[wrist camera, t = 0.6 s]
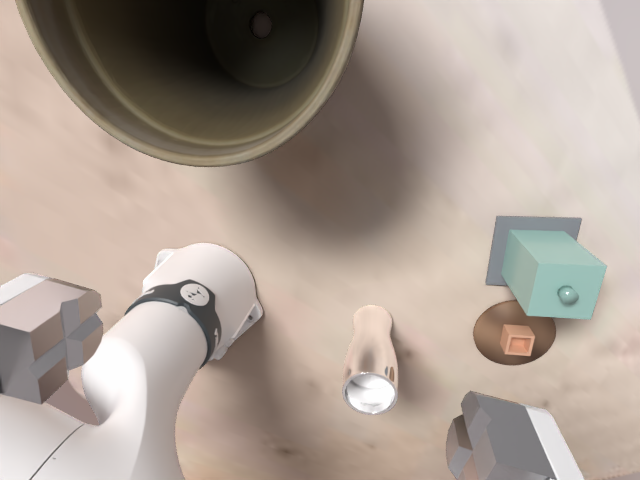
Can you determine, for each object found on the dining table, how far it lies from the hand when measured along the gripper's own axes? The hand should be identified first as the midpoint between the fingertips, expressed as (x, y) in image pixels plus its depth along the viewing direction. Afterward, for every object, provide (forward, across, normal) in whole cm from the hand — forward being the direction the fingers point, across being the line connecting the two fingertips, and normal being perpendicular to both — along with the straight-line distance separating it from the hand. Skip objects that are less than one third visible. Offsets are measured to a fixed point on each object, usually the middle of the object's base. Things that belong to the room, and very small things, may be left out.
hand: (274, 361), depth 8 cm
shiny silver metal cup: (+43, +8, -28) cm, 52 cm away
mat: (+43, +25, -11) cm, 51 cm away
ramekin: (+42, +28, -24) cm, 56 cm away
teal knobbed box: (+42, +25, -11) cm, 51 cm away
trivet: (+43, +28, -24) cm, 56 cm away
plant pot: (+43, -14, +9) cm, 46 cm away
